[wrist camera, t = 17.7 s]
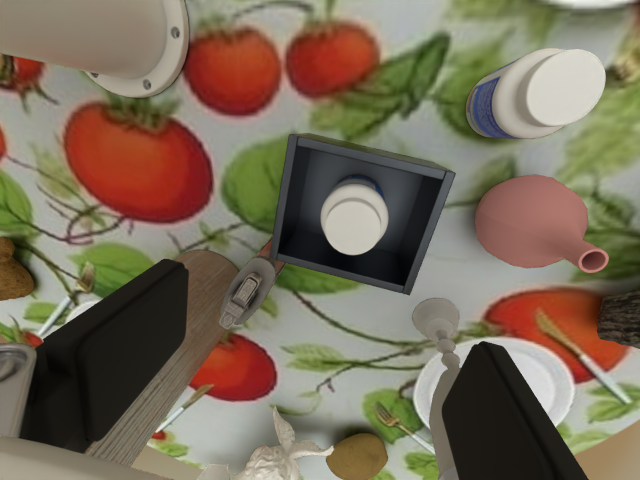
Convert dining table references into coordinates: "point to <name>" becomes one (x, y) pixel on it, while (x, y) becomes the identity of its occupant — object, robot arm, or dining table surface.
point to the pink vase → (536, 224)
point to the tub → (400, 196)
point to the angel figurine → (271, 458)
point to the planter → (174, 359)
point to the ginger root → (12, 274)
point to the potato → (358, 457)
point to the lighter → (250, 287)
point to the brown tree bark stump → (620, 319)
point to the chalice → (441, 325)
